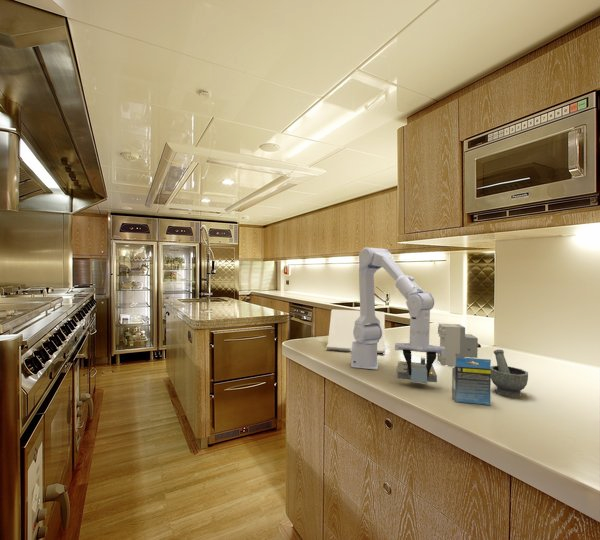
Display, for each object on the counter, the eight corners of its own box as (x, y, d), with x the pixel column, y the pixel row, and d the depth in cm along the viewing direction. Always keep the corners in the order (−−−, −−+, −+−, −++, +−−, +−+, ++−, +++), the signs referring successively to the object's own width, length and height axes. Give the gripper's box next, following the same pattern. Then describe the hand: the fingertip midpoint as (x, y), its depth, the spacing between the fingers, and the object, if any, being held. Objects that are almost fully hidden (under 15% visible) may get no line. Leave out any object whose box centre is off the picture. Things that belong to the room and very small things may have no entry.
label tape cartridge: (485, 400, 91) (486, 356, 91) (490, 405, 87) (491, 359, 87) (451, 396, 93) (452, 353, 93) (454, 402, 89) (455, 356, 89)
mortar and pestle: (536, 400, 91) (536, 357, 91) (502, 399, 91) (503, 356, 91) (510, 386, 103) (510, 348, 103) (480, 385, 103) (481, 347, 103)
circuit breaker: (482, 368, 122) (482, 328, 122) (441, 365, 125) (442, 326, 125) (475, 362, 129) (476, 325, 129) (437, 360, 132) (438, 323, 132)
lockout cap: (411, 381, 99) (411, 368, 99) (410, 376, 104) (410, 363, 104) (426, 383, 98) (427, 370, 98) (425, 377, 103) (425, 364, 103)
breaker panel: (398, 377, 108) (398, 370, 108) (397, 366, 122) (397, 359, 122) (436, 381, 105) (436, 374, 105) (431, 369, 119) (432, 363, 119)
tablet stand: (331, 343, 160) (332, 308, 160) (383, 347, 155) (384, 311, 155) (325, 351, 143) (326, 313, 143) (384, 356, 137) (385, 316, 137)
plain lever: (421, 366, 115) (421, 357, 115) (420, 364, 117) (420, 356, 117) (425, 366, 114) (425, 358, 114) (424, 364, 117) (424, 356, 117)
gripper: (395, 331, 99) (394, 376, 99) (446, 335, 95) (445, 381, 95) (395, 328, 106) (394, 369, 106) (443, 331, 102) (442, 374, 102)
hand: (418, 375), depth 101 cm, fingers closed on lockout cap, 4 cm apart
